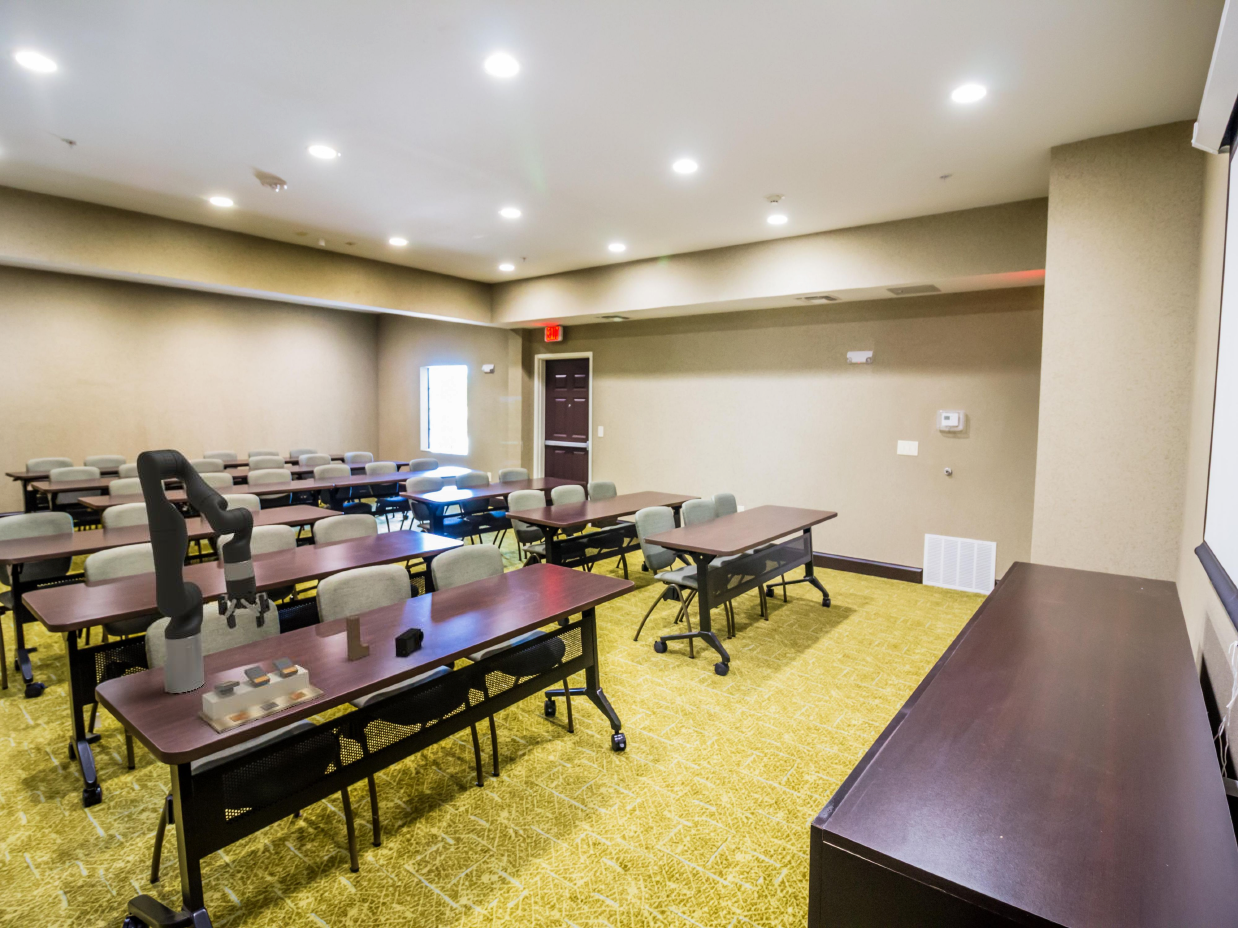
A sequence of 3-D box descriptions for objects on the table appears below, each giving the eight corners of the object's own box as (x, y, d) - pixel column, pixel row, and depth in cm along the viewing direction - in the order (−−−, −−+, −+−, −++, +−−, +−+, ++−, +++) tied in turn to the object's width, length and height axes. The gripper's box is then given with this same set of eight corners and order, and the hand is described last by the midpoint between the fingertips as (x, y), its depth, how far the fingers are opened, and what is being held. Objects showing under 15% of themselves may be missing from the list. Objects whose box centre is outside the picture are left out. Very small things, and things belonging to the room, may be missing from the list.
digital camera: (409, 657, 211) (408, 638, 211) (395, 656, 212) (394, 637, 212) (424, 646, 221) (424, 628, 221) (411, 645, 223) (410, 627, 222)
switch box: (213, 719, 167) (212, 699, 166) (203, 711, 171) (201, 691, 171) (309, 686, 187) (308, 668, 186) (297, 679, 192) (296, 662, 191)
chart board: (219, 733, 161) (219, 729, 161) (198, 715, 171) (198, 711, 171) (324, 695, 183) (323, 691, 183) (300, 681, 193) (299, 677, 193)
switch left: (224, 690, 168) (223, 685, 168) (214, 689, 173) (213, 685, 173) (240, 685, 171) (239, 680, 172) (230, 684, 176) (229, 680, 176)
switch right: (284, 677, 181) (284, 673, 181) (272, 664, 186) (273, 660, 185) (297, 672, 184) (298, 669, 184) (286, 660, 189) (286, 656, 189)
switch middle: (255, 686, 175) (255, 683, 175) (244, 673, 179) (244, 669, 179) (269, 682, 178) (270, 678, 178) (258, 668, 183) (259, 665, 182)
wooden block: (352, 660, 209) (351, 619, 208) (347, 658, 211) (345, 617, 209) (369, 654, 214) (368, 613, 213) (364, 652, 216) (363, 612, 215)
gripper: (207, 580, 175) (214, 633, 177) (255, 578, 174) (262, 631, 176) (225, 572, 182) (232, 623, 184) (270, 570, 182) (277, 621, 184)
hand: (246, 627), depth 180 cm, fingers open, 8 cm apart
